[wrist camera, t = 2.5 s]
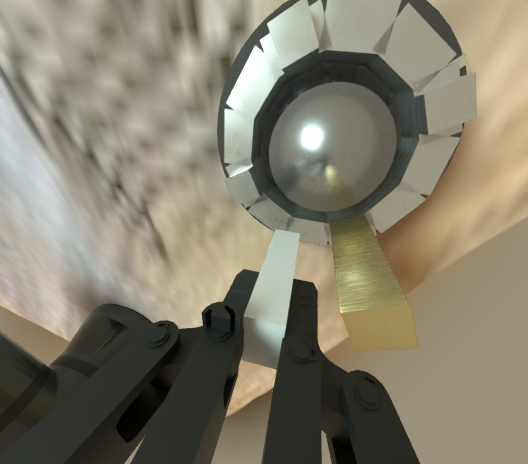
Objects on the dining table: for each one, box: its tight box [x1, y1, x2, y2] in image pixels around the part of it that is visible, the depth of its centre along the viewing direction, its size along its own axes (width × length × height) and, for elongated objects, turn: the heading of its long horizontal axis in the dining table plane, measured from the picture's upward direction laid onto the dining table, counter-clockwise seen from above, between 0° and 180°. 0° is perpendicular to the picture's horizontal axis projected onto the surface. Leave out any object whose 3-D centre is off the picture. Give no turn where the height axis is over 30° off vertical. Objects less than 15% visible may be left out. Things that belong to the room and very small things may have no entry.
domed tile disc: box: [224, 0, 477, 351], centre depth 11 cm, size 14×14×12 cm
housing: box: [217, 0, 467, 244], centre depth 15 cm, size 18×18×7 cm
